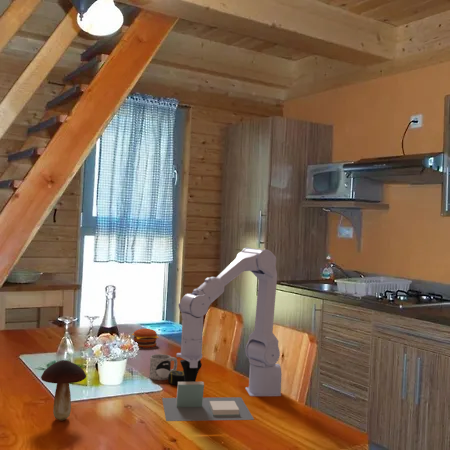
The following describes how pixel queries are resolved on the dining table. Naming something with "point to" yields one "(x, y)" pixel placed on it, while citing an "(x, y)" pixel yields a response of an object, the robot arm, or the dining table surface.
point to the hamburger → (145, 338)
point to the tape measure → (176, 377)
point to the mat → (203, 410)
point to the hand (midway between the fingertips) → (189, 387)
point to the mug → (161, 366)
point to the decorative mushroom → (63, 385)
